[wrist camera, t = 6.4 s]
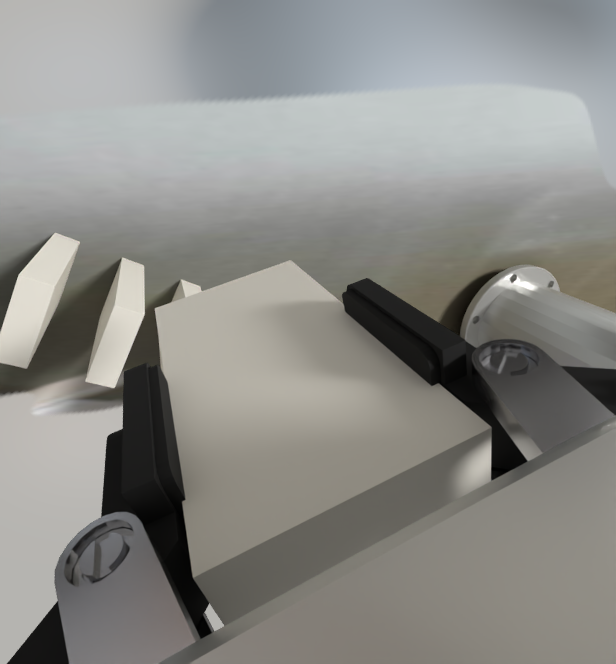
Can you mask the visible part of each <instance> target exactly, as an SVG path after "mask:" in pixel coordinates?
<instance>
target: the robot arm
mask: <svg viewBox="0 0 616 664" xmlns="http://www.w3.org/2000/svg"><path fill="white" fill-rule="evenodd" d="M342 298H343V304H344V309H345V312H346V313H347V314H348V315H349V316H351V317H352V318H353V319H354V320H355V321H356V322H357V323H359V324H360V325H361V326H362V327H363V328H364V329H366V330H367V331H368V332H369V333H370V334H371V335H373V336H374V337H375V338H376V339H377V340H378V341H380V342H381V343H382V344H383V345H384V346H385V347H387V348H388V349H389V350H390V351H391V352H392V353H394V354H395V355H396V356H397V357H398V358H399V359H401V360H402V361H403V362H404V363H405V364H406V365H407V366H409V367H410V368H411V369H412V370H413V371H414V372H416V373H417V374H418V375H419V376H420V377H421V378H423V379H424V380H425V381H426V382H427V383H428V384H430V385H431V386H433V385H436V384H438V383H439V384H440V385H441V386H443V387H444V388H445V389H446V390H447V391H449V392H450V393H451V394H452V395H453V396H455V397H456V398H457V399H458V400H459V401H461V402H462V403H463V404H464V405H465V406H467V407H468V408H469V409H470V410H471V411H473V412H474V413H475V414H476V415H477V416H479V417H480V418H481V419H482V420H483V421H485V422H486V423H487V424H488V425H489V426H491V427H492V436H491V481H490V482H489V483H487V484H485V485H483V486H481V487H479V488H477V489H475V490H474V491H472V492H470V493H468V494H466V495H464V496H463V497H461V498H459V499H457V500H455V501H453V502H451V503H450V504H448V505H446V506H444V507H442V508H440V509H438V510H437V511H435V512H433V513H431V514H429V515H427V516H426V517H424V518H422V519H420V520H418V521H416V522H414V523H413V524H411V525H409V526H407V527H405V528H403V529H402V530H400V531H398V532H396V533H394V534H392V535H390V536H389V537H387V538H385V539H383V540H381V541H379V542H378V543H376V544H374V545H372V546H370V547H368V548H367V549H365V550H363V551H361V552H359V553H357V554H355V555H354V556H352V557H350V558H348V559H346V560H344V561H343V562H341V563H339V564H337V565H335V566H333V567H332V568H330V569H328V570H326V571H324V572H322V573H321V574H319V575H317V576H315V577H313V578H311V579H310V580H308V581H306V582H304V583H302V584H301V585H299V586H297V587H295V588H293V589H291V590H290V591H288V592H286V593H284V594H282V595H281V596H279V597H277V598H275V599H273V600H271V601H270V602H268V603H266V604H264V605H262V606H260V607H259V608H257V609H255V610H253V611H251V612H250V613H248V614H246V615H244V616H242V617H240V618H239V619H237V620H235V621H233V622H231V623H229V624H228V625H226V626H224V627H222V628H221V629H219V630H217V631H215V632H214V630H213V628H212V626H211V624H210V622H209V620H208V618H207V616H206V614H205V613H204V612H205V610H206V608H207V607H208V605H209V601H208V600H207V598H206V597H205V595H204V594H203V592H202V591H201V589H200V588H199V586H198V585H197V583H196V582H195V580H194V579H193V575H192V568H191V561H190V554H189V547H188V540H187V533H186V526H185V519H184V512H183V505H182V501H184V500H186V499H185V492H184V485H183V479H182V472H181V466H180V459H179V453H178V446H177V440H176V433H175V427H174V420H173V414H172V407H171V401H170V394H169V388H168V382H167V380H166V378H165V376H164V374H163V372H162V370H161V368H160V367H159V365H156V366H154V367H151V366H150V365H149V364H148V363H145V364H143V365H140V366H137V367H135V368H132V369H130V370H127V371H124V393H123V429H122V430H119V431H117V432H114V433H112V434H110V435H109V436H108V437H107V444H106V445H107V446H106V458H105V473H104V487H103V501H102V516H101V518H99V519H97V520H95V521H93V522H92V523H90V524H89V525H88V526H86V527H85V528H84V529H83V530H81V531H80V532H79V533H78V534H77V535H76V536H75V537H74V538H73V539H72V540H71V541H70V543H69V544H68V545H67V547H66V548H65V550H64V551H63V553H62V554H61V556H60V558H59V561H58V563H57V566H56V569H55V588H56V593H57V599H58V601H57V603H56V604H55V605H54V606H53V608H52V609H51V610H50V611H49V612H48V614H47V615H46V616H45V618H44V619H43V620H42V621H41V623H40V624H39V625H38V626H37V627H36V629H35V630H34V631H33V633H31V635H30V636H29V637H28V638H27V640H26V641H25V642H24V644H23V645H22V646H21V647H20V648H19V650H18V651H17V652H16V653H15V655H14V656H13V657H12V658H11V659H10V661H9V662H8V663H7V664H616V313H614V312H611V311H608V310H606V309H603V308H601V307H598V306H595V305H593V304H590V303H588V302H585V301H582V300H580V299H577V298H574V297H572V296H569V295H567V294H564V293H561V292H560V290H559V286H558V283H557V281H556V279H555V278H554V277H553V275H552V274H551V273H549V272H548V271H547V270H545V269H542V268H540V267H537V266H533V265H528V264H527V265H517V266H514V267H510V268H508V269H506V270H504V271H502V272H500V273H498V274H497V275H496V276H494V277H493V278H491V279H490V280H489V281H488V282H487V283H486V284H485V285H484V286H483V287H482V288H481V289H480V290H479V292H478V293H477V294H476V295H475V297H474V298H473V300H472V301H471V303H470V305H469V306H468V308H467V311H466V313H465V315H464V318H463V321H462V325H461V329H460V336H459V335H457V334H455V333H454V332H452V331H451V330H449V329H447V328H446V327H444V326H443V325H441V324H440V323H438V322H436V321H435V320H433V319H432V318H430V317H428V316H427V315H425V314H424V313H422V312H421V311H419V310H417V309H416V308H414V307H413V306H411V305H410V304H408V303H406V302H405V301H403V300H402V299H400V298H398V297H397V296H395V295H394V294H392V293H391V292H389V291H387V290H386V289H384V288H383V287H381V286H380V285H378V284H376V283H375V282H373V281H372V280H370V279H368V278H366V279H363V280H361V281H358V282H355V283H353V284H350V285H348V286H347V291H346V292H344V293H343V294H342Z"/></svg>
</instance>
